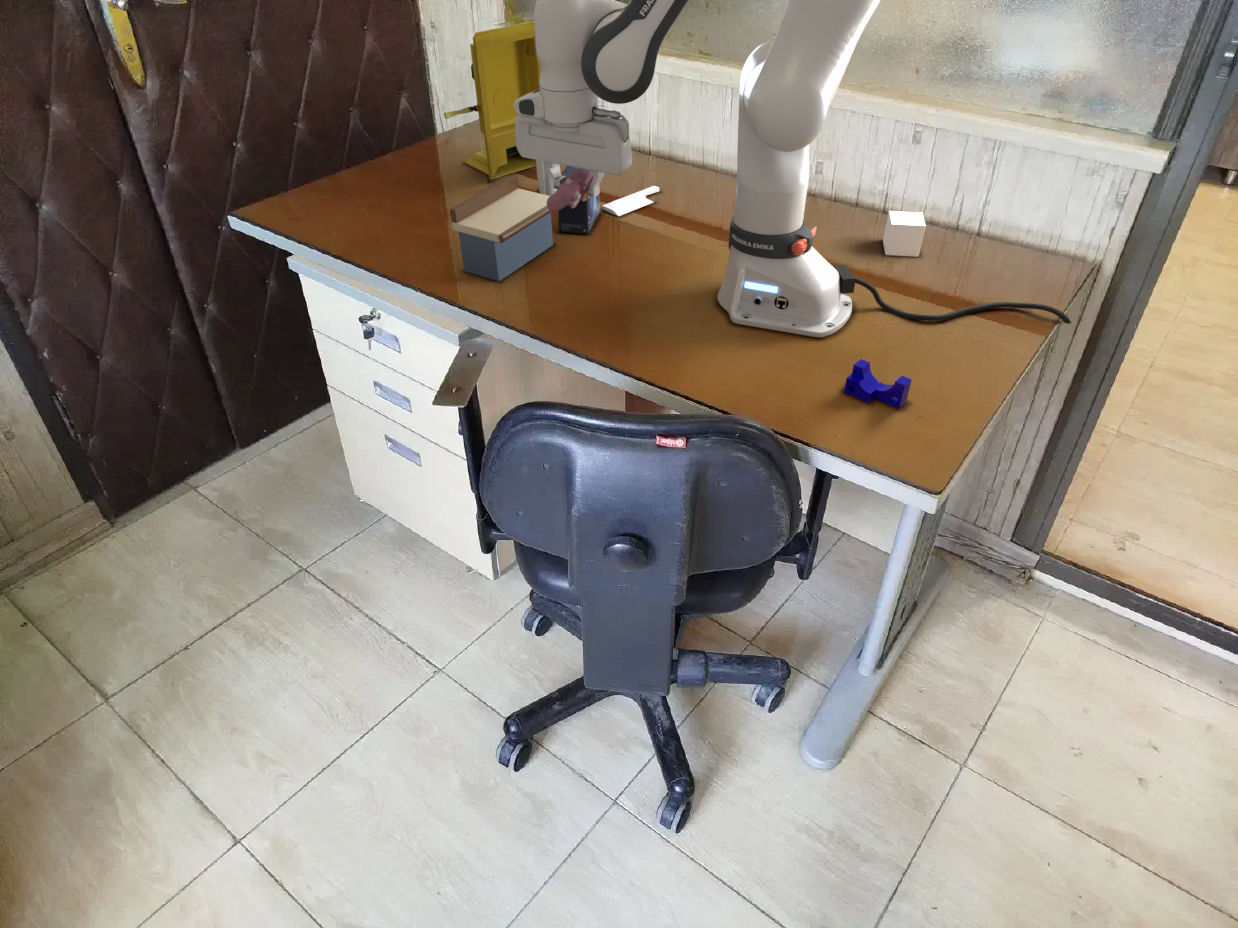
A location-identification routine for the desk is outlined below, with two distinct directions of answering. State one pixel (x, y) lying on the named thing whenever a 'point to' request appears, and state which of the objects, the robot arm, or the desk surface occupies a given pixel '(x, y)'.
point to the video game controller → (571, 191)
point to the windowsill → (502, 229)
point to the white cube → (904, 233)
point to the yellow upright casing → (501, 94)
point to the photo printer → (544, 179)
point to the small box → (578, 212)
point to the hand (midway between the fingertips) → (576, 191)
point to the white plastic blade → (630, 202)
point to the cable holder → (876, 386)
